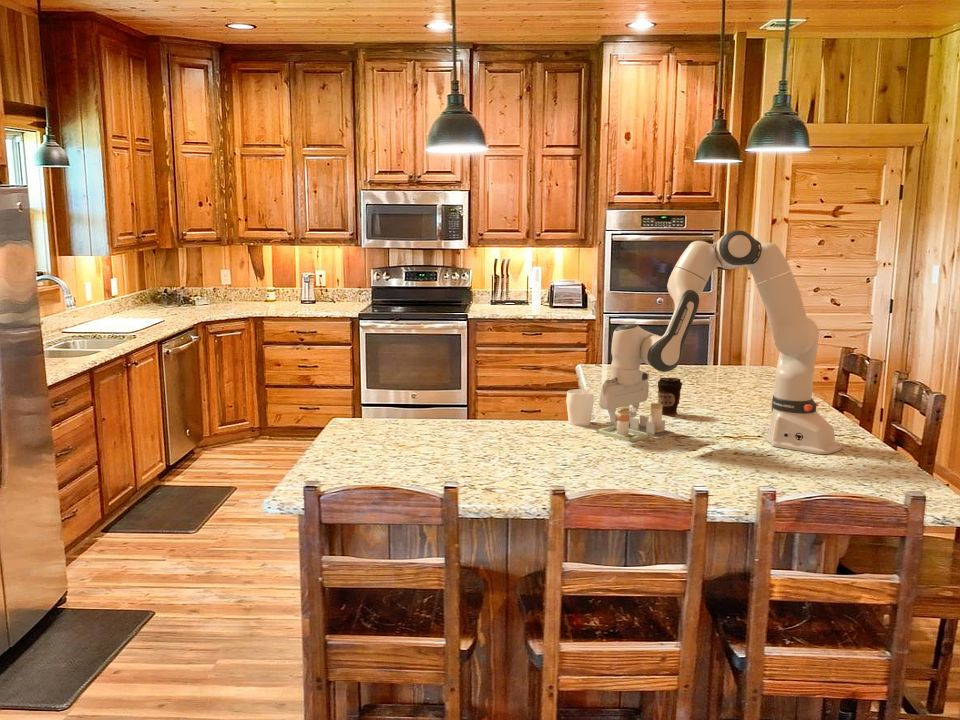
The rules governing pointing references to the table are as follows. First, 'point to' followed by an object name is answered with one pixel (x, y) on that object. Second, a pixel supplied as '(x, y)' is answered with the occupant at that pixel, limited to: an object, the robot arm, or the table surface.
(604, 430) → the tray
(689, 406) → the table surface
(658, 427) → the fuse
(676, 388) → the coffee cup
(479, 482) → the table surface
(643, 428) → the fuse block
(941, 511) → the table surface
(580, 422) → the cup
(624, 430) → the fuse marked
